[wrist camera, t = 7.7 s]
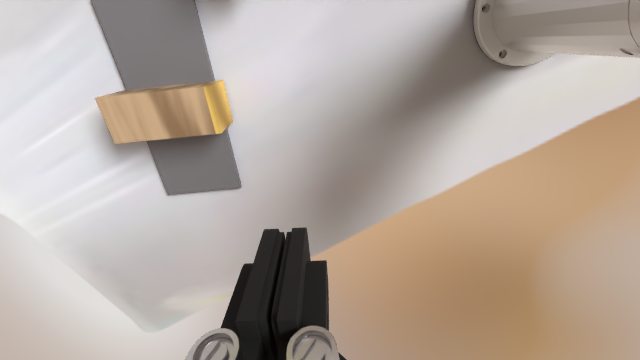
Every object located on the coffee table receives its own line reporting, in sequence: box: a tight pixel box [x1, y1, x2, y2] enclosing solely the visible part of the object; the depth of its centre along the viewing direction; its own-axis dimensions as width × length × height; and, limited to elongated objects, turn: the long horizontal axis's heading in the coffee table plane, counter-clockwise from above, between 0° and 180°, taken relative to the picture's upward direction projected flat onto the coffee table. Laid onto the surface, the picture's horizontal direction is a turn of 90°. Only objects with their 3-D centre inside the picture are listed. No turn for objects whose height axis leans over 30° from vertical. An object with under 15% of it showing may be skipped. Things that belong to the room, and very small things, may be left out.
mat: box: [91, 0, 241, 195], centre depth 34 cm, size 10×24×1 cm, turn 5°
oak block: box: [95, 80, 233, 144], centre depth 32 cm, size 5×5×12 cm
